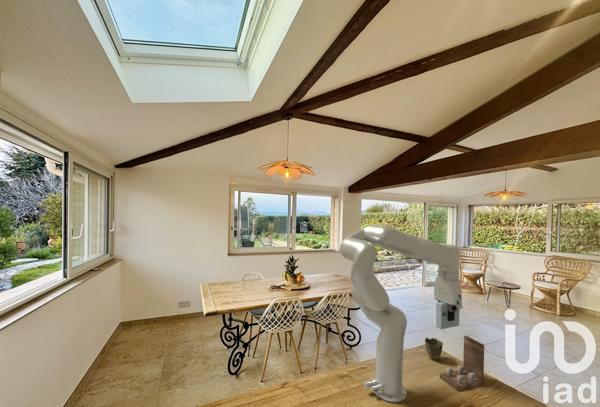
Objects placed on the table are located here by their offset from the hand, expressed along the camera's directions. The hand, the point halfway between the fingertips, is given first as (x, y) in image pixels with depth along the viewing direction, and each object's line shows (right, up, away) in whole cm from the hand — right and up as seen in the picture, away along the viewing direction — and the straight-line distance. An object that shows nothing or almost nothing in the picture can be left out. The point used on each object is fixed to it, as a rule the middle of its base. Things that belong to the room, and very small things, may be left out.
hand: (447, 318), depth 110 cm
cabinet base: (+3, -24, -4) cm, 24 cm away
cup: (0, -24, +12) cm, 27 cm away
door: (0, -3, 0) cm, 3 cm away
